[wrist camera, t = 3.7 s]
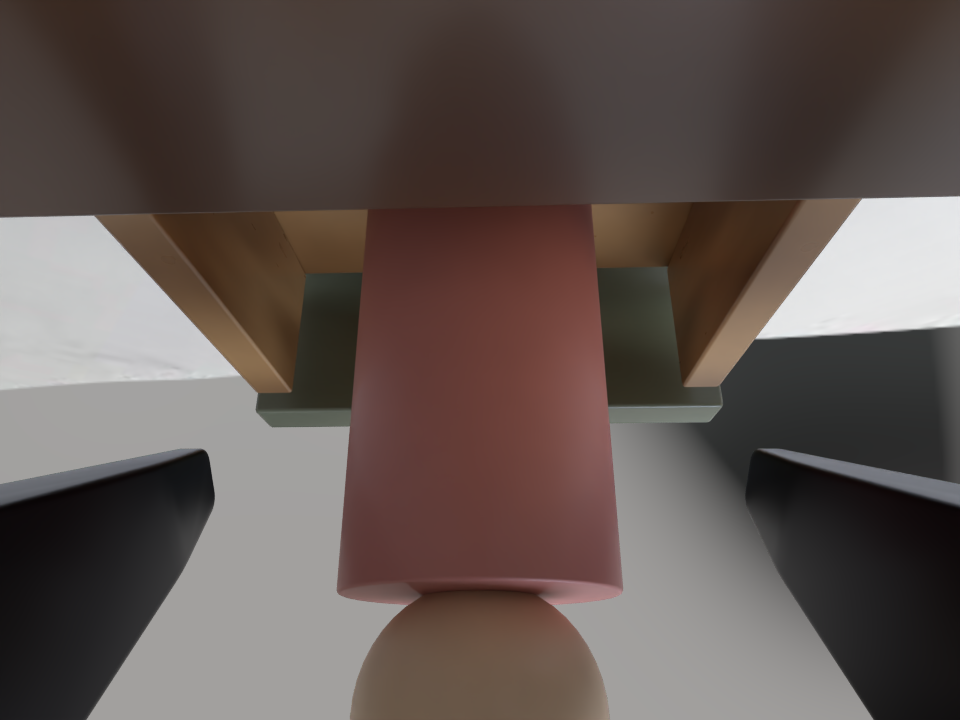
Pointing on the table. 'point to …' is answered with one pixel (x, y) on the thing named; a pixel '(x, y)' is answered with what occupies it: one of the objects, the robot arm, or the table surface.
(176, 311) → the table surface
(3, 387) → the table surface
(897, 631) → the robot arm
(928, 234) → the table surface
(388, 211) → the doll
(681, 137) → the organizer
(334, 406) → the drawer
